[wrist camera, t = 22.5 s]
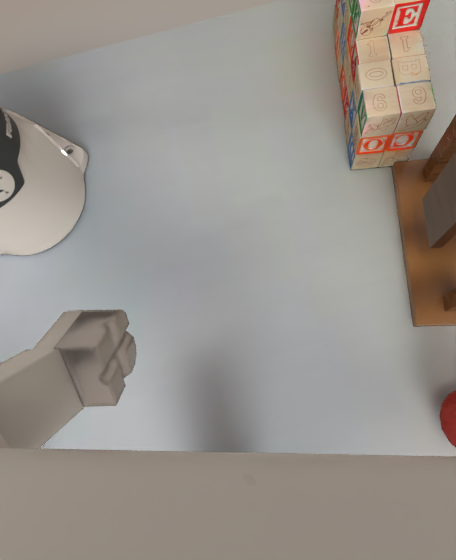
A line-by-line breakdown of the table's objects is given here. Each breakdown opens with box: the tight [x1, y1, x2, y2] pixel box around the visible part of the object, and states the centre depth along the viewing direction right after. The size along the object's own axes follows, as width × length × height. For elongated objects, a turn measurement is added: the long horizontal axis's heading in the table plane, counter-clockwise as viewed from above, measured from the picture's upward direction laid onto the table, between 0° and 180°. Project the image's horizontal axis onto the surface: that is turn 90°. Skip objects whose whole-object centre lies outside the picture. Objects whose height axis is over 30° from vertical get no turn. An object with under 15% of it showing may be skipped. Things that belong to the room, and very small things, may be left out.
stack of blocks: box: [333, 0, 436, 170], centre depth 41 cm, size 21×6×12 cm, turn 1°
